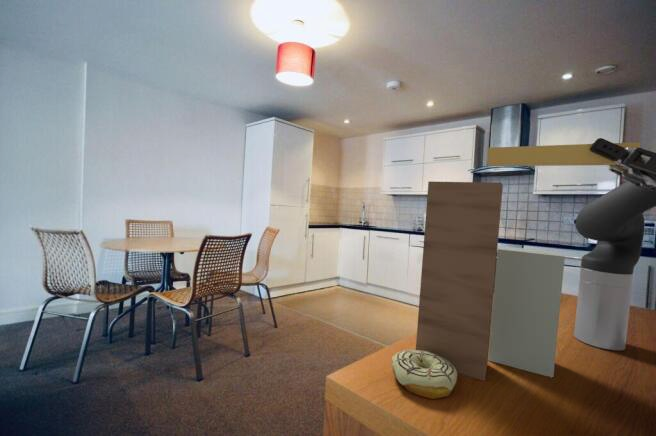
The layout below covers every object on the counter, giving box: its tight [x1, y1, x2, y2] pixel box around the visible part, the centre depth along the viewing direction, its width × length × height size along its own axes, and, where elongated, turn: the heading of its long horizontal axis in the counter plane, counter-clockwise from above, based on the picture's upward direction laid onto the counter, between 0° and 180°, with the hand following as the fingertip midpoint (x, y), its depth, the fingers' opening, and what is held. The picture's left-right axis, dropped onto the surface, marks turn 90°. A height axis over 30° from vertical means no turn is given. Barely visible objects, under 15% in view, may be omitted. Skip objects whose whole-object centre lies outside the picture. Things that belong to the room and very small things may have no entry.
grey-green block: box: [488, 245, 566, 378], centre depth 62 cm, size 8×10×22 cm
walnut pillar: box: [415, 180, 504, 382], centre depth 59 cm, size 7×12×34 cm, turn 60°
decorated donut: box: [391, 349, 458, 400], centre depth 53 cm, size 10×11×4 cm
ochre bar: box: [486, 141, 641, 167], centre depth 54 cm, size 3×20×3 cm, turn 60°
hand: (591, 146), depth 52 cm, fingers closed on ochre bar, 3 cm apart
